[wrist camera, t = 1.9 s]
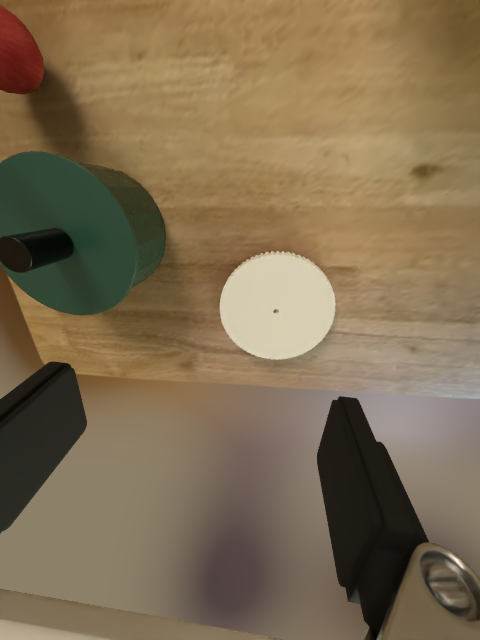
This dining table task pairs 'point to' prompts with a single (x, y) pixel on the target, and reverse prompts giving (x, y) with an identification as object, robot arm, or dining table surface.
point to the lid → (64, 234)
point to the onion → (18, 56)
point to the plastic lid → (277, 305)
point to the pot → (138, 218)
